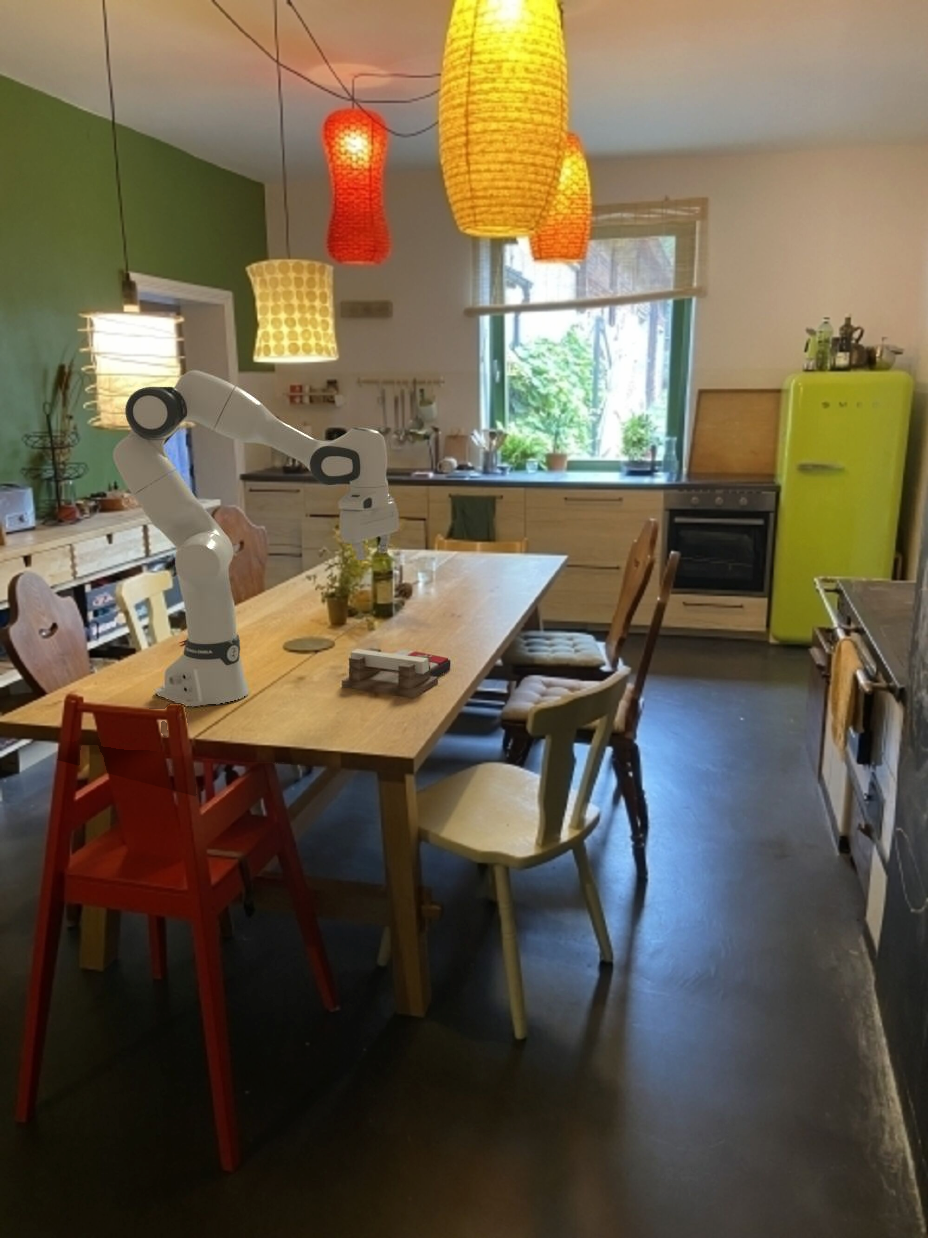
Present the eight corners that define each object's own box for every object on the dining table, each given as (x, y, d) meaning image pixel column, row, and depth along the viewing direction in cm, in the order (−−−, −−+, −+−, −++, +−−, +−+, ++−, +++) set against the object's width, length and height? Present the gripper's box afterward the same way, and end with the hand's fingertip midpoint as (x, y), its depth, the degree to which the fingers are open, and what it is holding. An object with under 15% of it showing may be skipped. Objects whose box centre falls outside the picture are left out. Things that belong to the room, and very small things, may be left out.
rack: (342, 686, 214) (340, 658, 212) (369, 672, 224) (368, 645, 223) (412, 698, 205) (411, 669, 203) (438, 683, 215) (437, 655, 214)
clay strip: (351, 663, 216) (350, 652, 216) (357, 660, 219) (357, 648, 218) (422, 674, 208) (422, 661, 207) (428, 670, 211) (428, 658, 210)
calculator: (429, 669, 216) (378, 658, 222) (429, 685, 217) (378, 674, 223) (451, 657, 225) (401, 646, 232) (450, 673, 226) (401, 662, 233)
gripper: (382, 492, 217) (384, 547, 221) (333, 502, 200) (336, 562, 204) (404, 493, 215) (406, 549, 218) (356, 503, 197) (359, 564, 201)
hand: (372, 555), depth 211 cm, fingers open, 8 cm apart
